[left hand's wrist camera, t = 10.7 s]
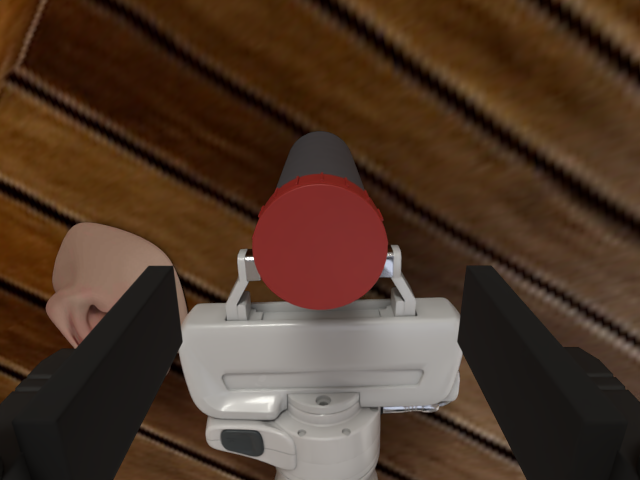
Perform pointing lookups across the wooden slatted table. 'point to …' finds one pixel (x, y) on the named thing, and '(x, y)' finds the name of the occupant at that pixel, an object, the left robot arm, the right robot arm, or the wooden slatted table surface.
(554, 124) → the wooden slatted table surface
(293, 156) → the jar
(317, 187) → the lid
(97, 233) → the anatomical model
